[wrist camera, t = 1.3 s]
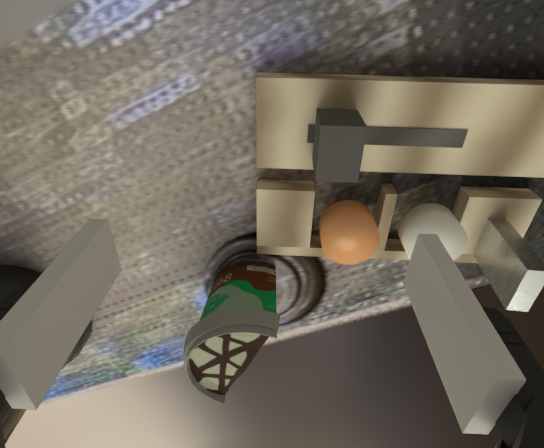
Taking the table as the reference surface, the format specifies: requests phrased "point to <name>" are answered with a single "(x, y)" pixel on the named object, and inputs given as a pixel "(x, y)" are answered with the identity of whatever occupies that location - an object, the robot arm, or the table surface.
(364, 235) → the brown egg
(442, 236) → the white egg
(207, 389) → the food container
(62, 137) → the table surface
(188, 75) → the table surface
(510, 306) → the toggle lever
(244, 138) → the table surface
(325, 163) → the slider knob
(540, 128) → the beige flat pieces
